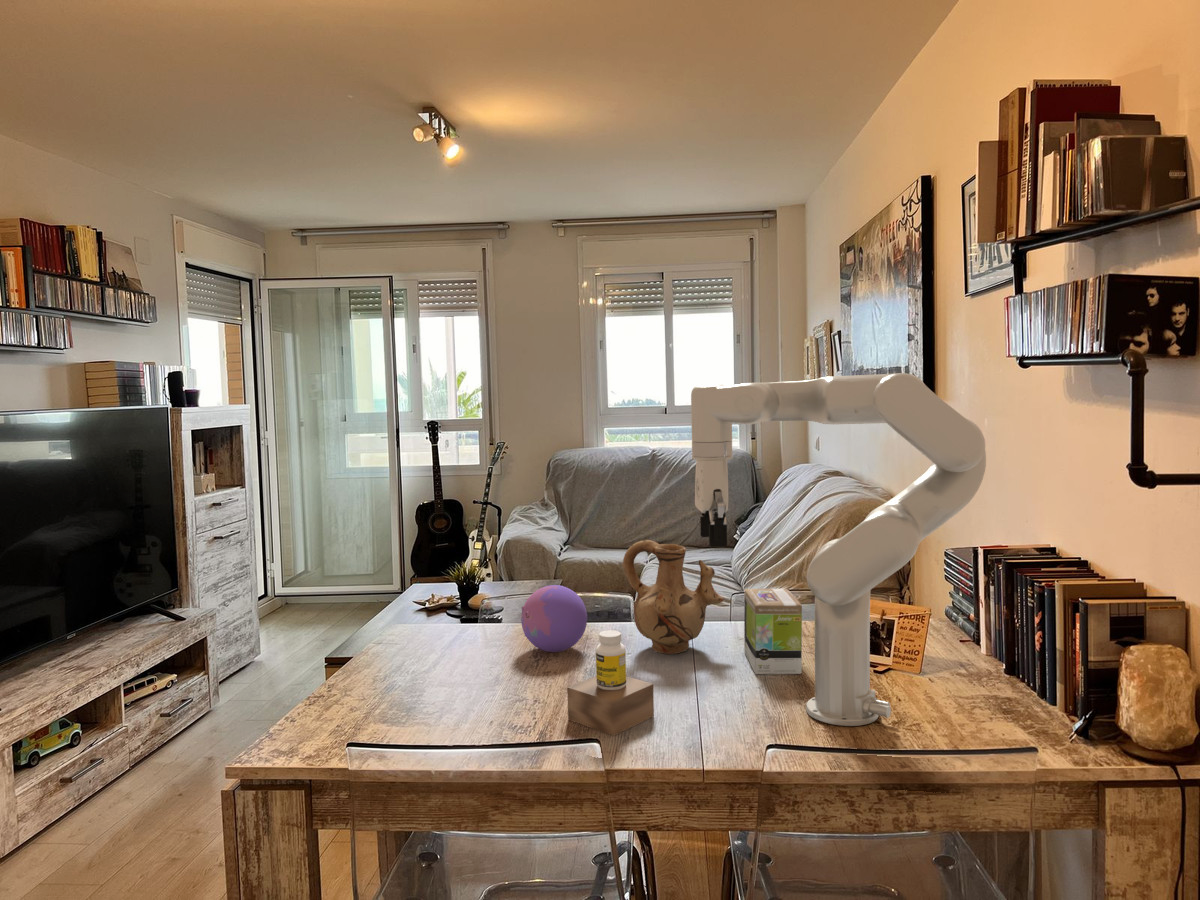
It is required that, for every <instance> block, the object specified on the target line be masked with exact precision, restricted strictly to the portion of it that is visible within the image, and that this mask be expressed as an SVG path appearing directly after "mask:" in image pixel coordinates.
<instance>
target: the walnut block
mask: <svg viewBox="0 0 1200 900" xmlns="http://www.w3.org/2000/svg"><path fill="white" fill-rule="evenodd" d="M566 690H567V692H566V693H567V720H568V719H570V720H572V721H571V722H573V721H575V722H574V723H576V722H577V723H576V724H579V723H580V725H582V726H584V725H585V727H587V728H590V729H593V730H597V731H599V732H602V733H604V734H607V735H610V736H616V735H618V734H621V733H623V732H625V731H626V730H629V729H631V728H633V727H635V726H636V725H639V724H641V723H644V722H645V721H647V720H649V719H651V718H654V717H655V714H654V713H655V712H654V711H655V709H654V708H655V707H654V701H655V699H654V683H651V682H647V681H644V680H641V679H637V678H635V677H634V678H633V677H630V676H627V675H626V686H625V687H624V688H622V689H619V690H603V689H600V688H599V687H598V686H597V677H596V675H595V676H592V677H590V678H588V679H586V680H585V679H584V680H583V681H580V682H578V683H575V684H573V685H569V686H567V687H566ZM570 720H569V721H570Z"/></svg>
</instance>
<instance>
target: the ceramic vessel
mask: <svg viewBox="0 0 1200 900" xmlns="http://www.w3.org/2000/svg"><path fill="white" fill-rule="evenodd" d="M644 551H647V552H649V553H652V555H655V557H656V559H657V560H658V567H657V568H658V569H657V575H656V578H655V579H656V580H655V583H654V584H652V585H651V586H649V585H646V584H645V583H643V582H642V581H641V580H640V578H639V577H638V574H637V572H636V569H635V559H636V557H637V556H638V555H639V554H640V553H642V552H644ZM686 551H687V548H686V547H685V546H684V545H680V544H676V543H663V544H662V543H661V544H659V543H658V542H656V541H654V540H650V539H644V540H640V541H637V542H635V543H633V544H632V545H631V546H630V547H629V548H628V549H627V550H626V551H625V554H624V556H623V559H622V566H623V572H624V575H625V577H626V579H627V580H628V582H629V584H630V586H631V587H632V588H633V590H635V591H636V593H637V595H636V598H635V602H634V605H633V616H634V617H633V618H634V622H635V628H636V629H637V630H638V632H639V633H640V634H641V635H642V636H643V637H645V638H647V639H648V640H651V642H652V646H651V647H652V649H653V651H655V652H656V651H657V652H656V653H659V652H661V653H660V654H663V653H666V654H665V655H671V654H679V653H682V652H686V651H688V649H689V647H690V642H689V641H692V640H695V639H696V638H697V637H698V636H699V635H700V634H701V632H702V630H703V628H704V624H705V621H706V610H707V607H708V606H710V605H717V604H721V603H723V602H724V600H725V599H724V597H722V596H721V595H720V594H719V593H717V591H716V590H715V588H714V587H713V583H712V579H713V577H714V576H715V569H714V568H713V567H712V566H709V565H706V564H705V563H704V562H703V561H702V560H701V559H700V560H698V566H699V568H700V572H699V573H700V574H699V575H700V576H699V577H700V579H699V580H700V581H699V583H698V585H697V586H696V588H695V590H692V589H689V588H688V586H686V584H685V581H684V580H685V579H684V575H683V574H684V572H683V568H684V561H685V558H686Z"/></svg>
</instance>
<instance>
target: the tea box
mask: <svg viewBox="0 0 1200 900" xmlns="http://www.w3.org/2000/svg"><path fill="white" fill-rule="evenodd" d="M743 592H744V602H743V603H744V604H743V605H744V609H743V611H744V618H743V619H744V620H743V622H744V623H743V625H744V630H743V631H744V632H743V633H744V640H743V641H744V642H743V643H744V648H743V650H744V653H745V656H746V657H747V661H748V662H749V664H750V666H751V668H752V671H753V672H754V674H755V675H801V674H802V671H803V670H802V669H803V668H802V661H803V660H802V659H803V658H802V657H803V655H802V651H803V648H802V647H803V645H802V643H803V642H802V641H803V640H802V639H803V638H802V637H803V636H802V635H803V605H802V604H801V602H800V601H799V600H798V599H797V598H796V596H795V595H794V594H792V591H790V590H789V589H788V588H745V589H744V591H743Z"/></svg>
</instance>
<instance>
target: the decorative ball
mask: <svg viewBox="0 0 1200 900" xmlns="http://www.w3.org/2000/svg"><path fill="white" fill-rule="evenodd" d="M520 617H521V619H520V620H521V627H522V631H523V635H524V637H525V638H526V639H527V640H528V641H529V642H530V643H531V644H532V645H533V646H534V647H535V648H537V649H538V650H540V651H541V650H542V651H543V652H547V653H560V652H564V651H567V650H569V649H570V648H573V646H575V645H576V644H577V643H578V642H579V641H580V640H581V639H582V637H583V635H584V633H585V631H586V628H587V625H588V624H587V623H588V612H587V609H586V605H585V603H584V601H583V600H582V598H581V596H579V594H577V593H576V592H575V591H573V590H572V589H570V588H568V587H566V586H562V585H558V584H552V585H551V584H550V585H546V586H543V587H540V588H538V589H537V590H535V591H534V592H533V593H531V595H529V596H528V598H527V599H526V601H525V603H524V605H523V606H521V616H520Z"/></svg>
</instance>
